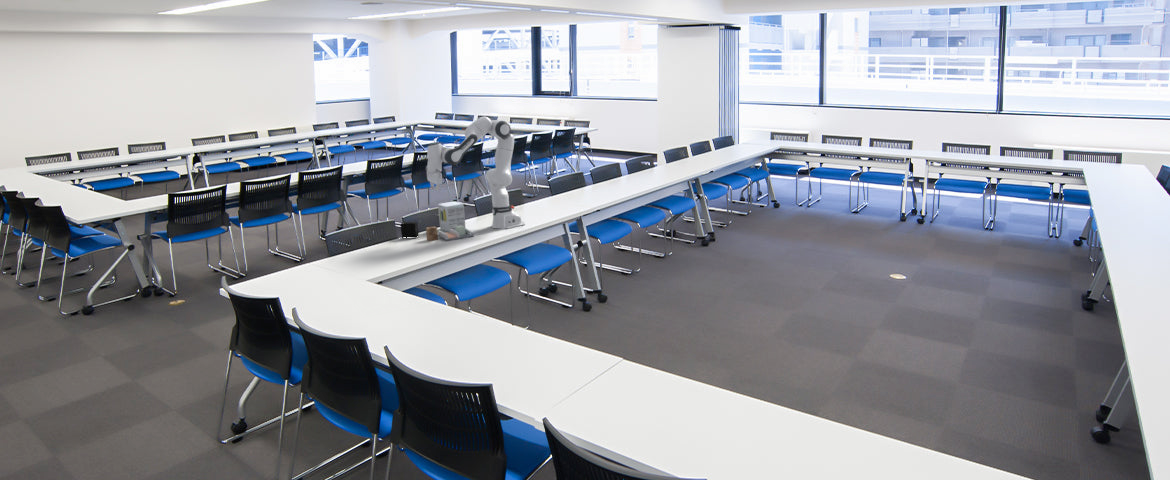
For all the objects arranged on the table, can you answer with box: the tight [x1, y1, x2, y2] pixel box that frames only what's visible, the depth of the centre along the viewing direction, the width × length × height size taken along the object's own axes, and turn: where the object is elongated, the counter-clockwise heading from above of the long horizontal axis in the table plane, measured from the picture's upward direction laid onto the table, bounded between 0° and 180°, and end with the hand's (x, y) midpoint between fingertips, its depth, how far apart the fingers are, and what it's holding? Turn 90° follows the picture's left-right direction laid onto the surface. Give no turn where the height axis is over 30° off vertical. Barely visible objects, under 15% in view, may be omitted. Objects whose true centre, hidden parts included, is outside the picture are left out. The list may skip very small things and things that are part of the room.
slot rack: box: [437, 225, 474, 242], centre depth 493 cm, size 19×18×6 cm
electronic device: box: [400, 221, 420, 239], centre depth 494 cm, size 4×10×10 cm, turn 78°
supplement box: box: [437, 200, 467, 233], centre depth 512 cm, size 13×13×18 cm
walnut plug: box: [425, 226, 439, 242], centre depth 486 cm, size 6×4×8 cm, turn 119°
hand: (435, 190), depth 484 cm, fingers open, 8 cm apart
